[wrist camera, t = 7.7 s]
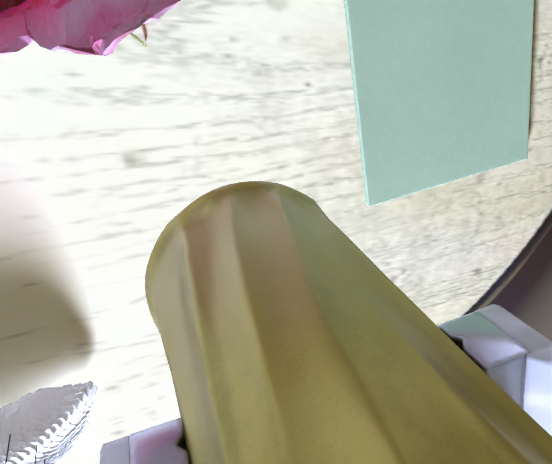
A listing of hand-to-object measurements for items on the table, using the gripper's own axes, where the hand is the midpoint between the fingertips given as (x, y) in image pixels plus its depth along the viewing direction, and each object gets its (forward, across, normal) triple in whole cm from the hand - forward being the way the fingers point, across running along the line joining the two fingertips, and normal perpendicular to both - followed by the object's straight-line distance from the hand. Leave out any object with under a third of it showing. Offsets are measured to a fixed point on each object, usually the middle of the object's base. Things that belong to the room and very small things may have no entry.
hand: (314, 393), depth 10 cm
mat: (+21, -18, -5) cm, 28 cm away
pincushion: (+22, +15, +14) cm, 30 cm away
